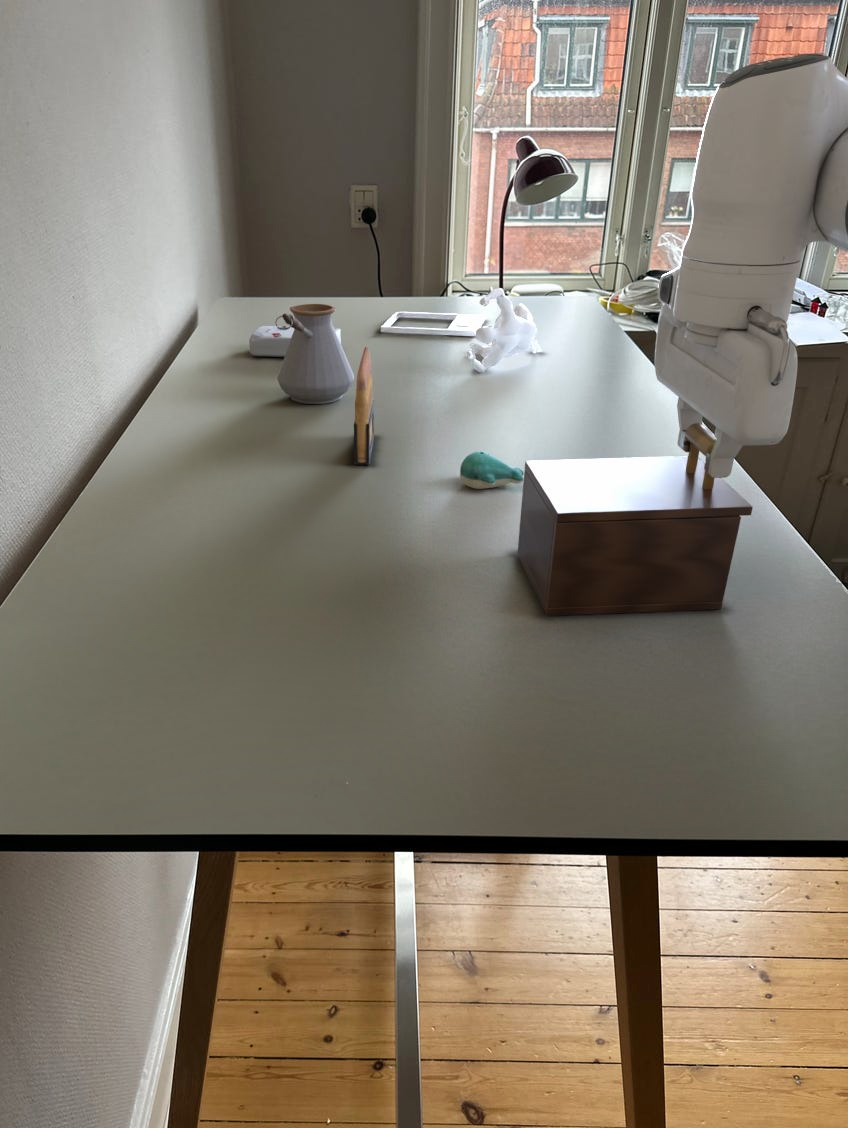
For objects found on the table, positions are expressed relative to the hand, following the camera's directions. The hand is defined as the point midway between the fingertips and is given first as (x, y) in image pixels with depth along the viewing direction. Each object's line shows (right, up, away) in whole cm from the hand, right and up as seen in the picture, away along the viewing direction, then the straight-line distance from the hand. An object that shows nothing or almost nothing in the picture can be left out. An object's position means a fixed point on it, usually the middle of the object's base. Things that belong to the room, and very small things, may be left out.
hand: (702, 461), depth 80 cm
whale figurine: (-15, +2, +27) cm, 31 cm away
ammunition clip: (-30, +8, +37) cm, 48 cm away
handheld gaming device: (-42, +35, +81) cm, 98 cm away
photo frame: (-16, +46, +99) cm, 110 cm away
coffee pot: (-38, +18, +54) cm, 68 cm away
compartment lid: (-6, -2, +1) cm, 6 cm away
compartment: (-6, -10, +5) cm, 13 cm away
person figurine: (-6, +30, +74) cm, 80 cm away
